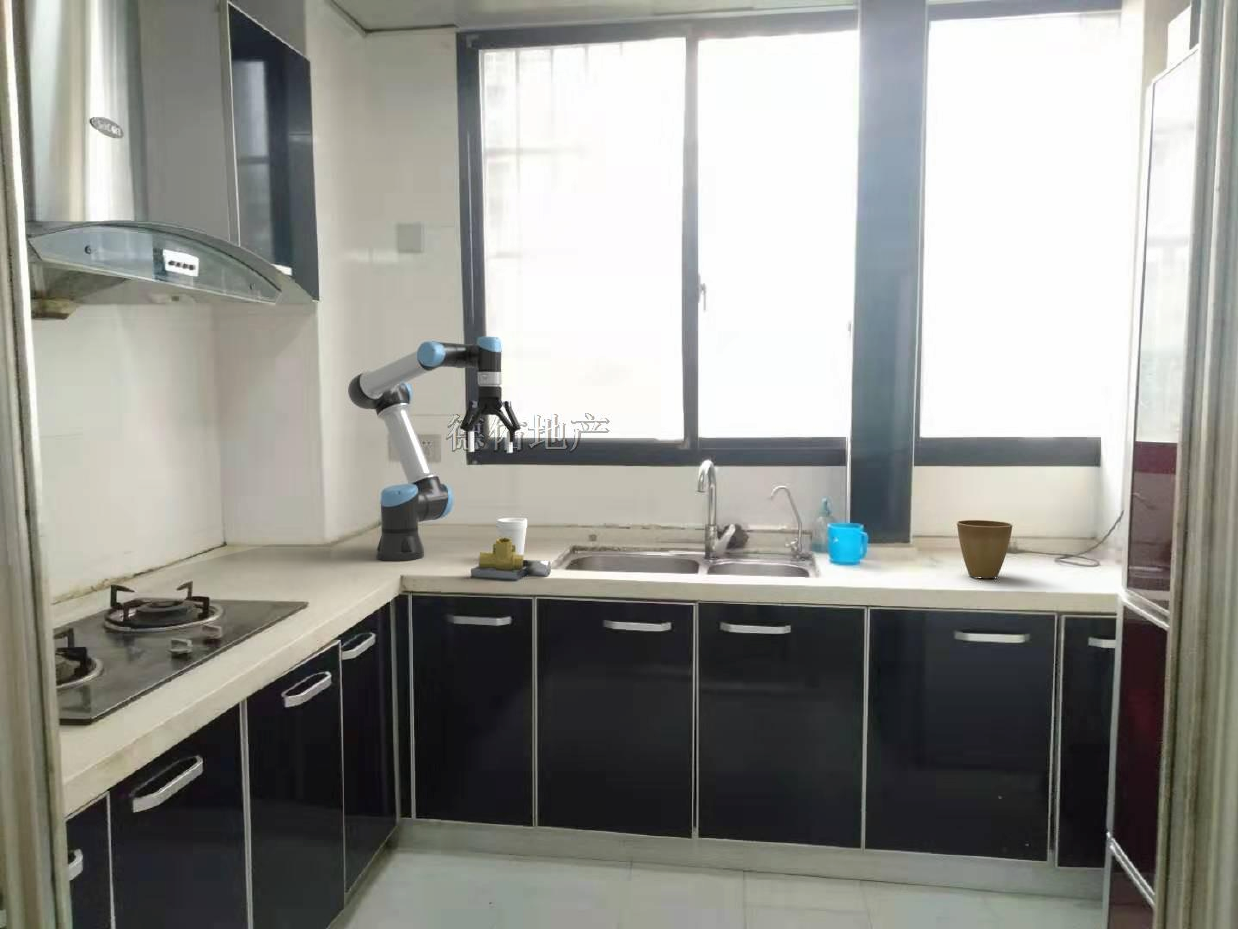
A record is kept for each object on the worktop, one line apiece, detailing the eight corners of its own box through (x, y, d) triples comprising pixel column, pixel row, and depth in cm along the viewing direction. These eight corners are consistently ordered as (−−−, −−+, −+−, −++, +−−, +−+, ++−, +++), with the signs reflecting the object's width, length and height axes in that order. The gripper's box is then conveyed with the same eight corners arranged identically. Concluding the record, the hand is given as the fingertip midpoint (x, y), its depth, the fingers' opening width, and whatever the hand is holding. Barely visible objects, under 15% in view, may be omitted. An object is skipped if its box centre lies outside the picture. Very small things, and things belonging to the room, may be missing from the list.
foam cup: (530, 561, 267) (530, 521, 266) (502, 563, 264) (501, 522, 263) (522, 556, 276) (522, 517, 275) (495, 558, 273) (494, 518, 272)
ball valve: (521, 577, 245) (523, 564, 254) (524, 544, 242) (525, 532, 251) (478, 574, 243) (481, 561, 253) (480, 541, 241) (483, 529, 250)
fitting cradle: (471, 577, 243) (470, 562, 243) (497, 565, 260) (497, 552, 260) (536, 582, 237) (536, 567, 237) (559, 570, 254) (559, 555, 254)
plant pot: (1018, 577, 245) (1020, 522, 244) (998, 585, 234) (1000, 528, 233) (967, 569, 255) (969, 517, 254) (946, 576, 245) (948, 522, 244)
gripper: (448, 385, 267) (449, 452, 268) (520, 385, 259) (521, 453, 261) (460, 385, 274) (461, 450, 276) (530, 385, 266) (530, 452, 268)
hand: (490, 452), depth 268 cm, fingers open, 13 cm apart
